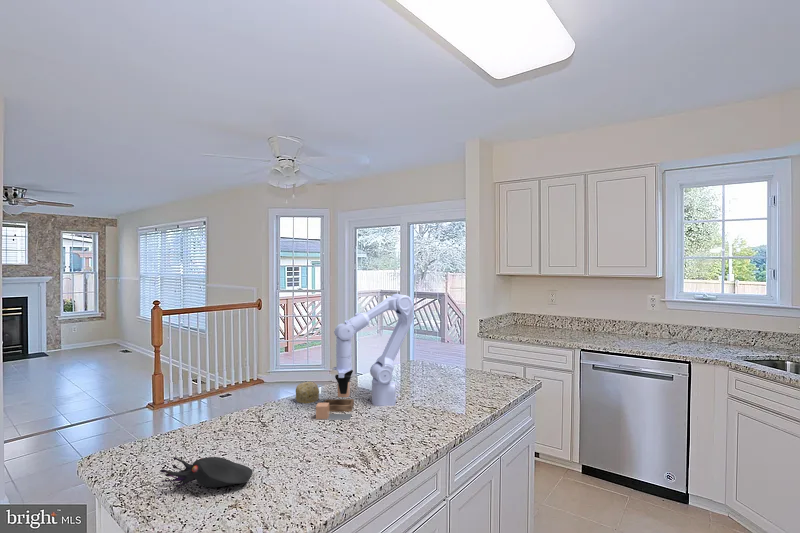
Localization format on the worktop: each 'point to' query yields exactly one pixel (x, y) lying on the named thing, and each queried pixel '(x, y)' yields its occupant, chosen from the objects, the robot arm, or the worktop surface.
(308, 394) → the coral
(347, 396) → the peach cube
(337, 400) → the walnut bin
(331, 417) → the slate board
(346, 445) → the worktop surface
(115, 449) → the worktop surface
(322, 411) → the tan cube
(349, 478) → the worktop surface
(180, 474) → the toy
